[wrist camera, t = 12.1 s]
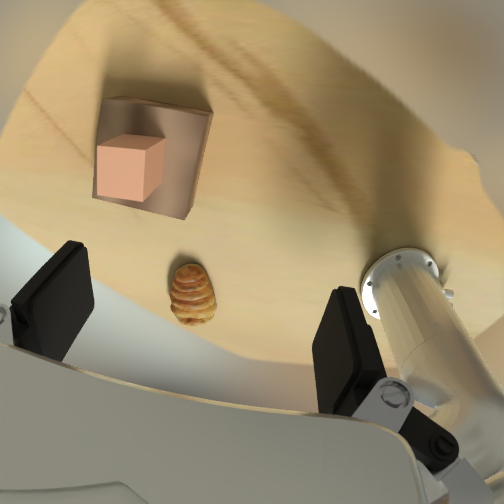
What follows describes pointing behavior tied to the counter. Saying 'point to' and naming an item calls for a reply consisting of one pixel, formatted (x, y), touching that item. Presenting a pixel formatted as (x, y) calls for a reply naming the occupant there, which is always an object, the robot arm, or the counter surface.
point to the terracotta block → (130, 166)
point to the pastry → (192, 296)
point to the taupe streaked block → (176, 149)
